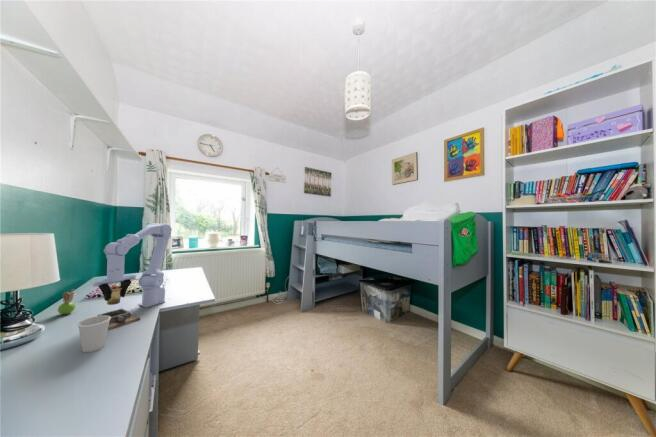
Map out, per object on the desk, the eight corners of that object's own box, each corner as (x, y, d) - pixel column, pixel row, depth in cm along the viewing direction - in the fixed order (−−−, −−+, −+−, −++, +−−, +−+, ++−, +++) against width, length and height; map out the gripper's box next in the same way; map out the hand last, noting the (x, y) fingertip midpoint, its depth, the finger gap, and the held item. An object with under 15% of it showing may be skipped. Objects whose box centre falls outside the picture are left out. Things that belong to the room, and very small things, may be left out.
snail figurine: (64, 317, 103) (65, 291, 103) (54, 315, 105) (55, 289, 105) (79, 312, 109) (80, 287, 109) (69, 310, 110) (70, 286, 110)
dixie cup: (89, 356, 76) (90, 326, 76) (69, 352, 78) (70, 324, 78) (116, 342, 84) (117, 316, 84) (97, 340, 86) (98, 314, 86)
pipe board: (123, 312, 111) (123, 306, 111) (139, 319, 103) (140, 313, 103) (89, 321, 100) (89, 314, 100) (105, 330, 93) (105, 323, 93)
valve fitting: (118, 299, 106) (119, 283, 106) (123, 302, 103) (125, 286, 103) (103, 302, 101) (105, 285, 101) (108, 306, 99) (110, 288, 99)
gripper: (131, 264, 110) (130, 292, 110) (90, 270, 98) (88, 301, 97) (138, 266, 107) (137, 295, 107) (96, 272, 94) (95, 305, 94)
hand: (114, 298), depth 102 cm, fingers closed on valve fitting, 5 cm apart
